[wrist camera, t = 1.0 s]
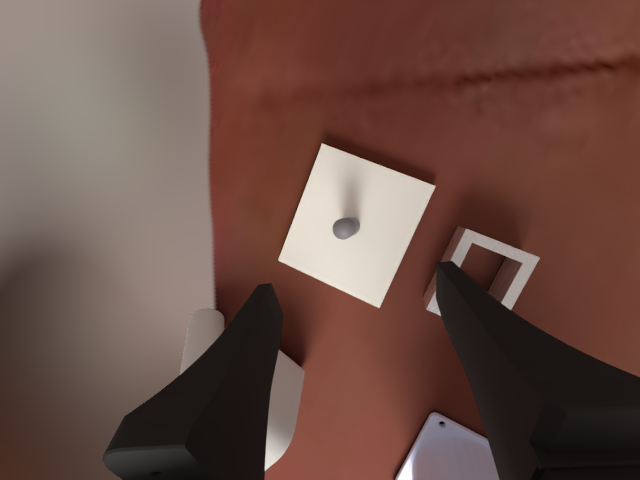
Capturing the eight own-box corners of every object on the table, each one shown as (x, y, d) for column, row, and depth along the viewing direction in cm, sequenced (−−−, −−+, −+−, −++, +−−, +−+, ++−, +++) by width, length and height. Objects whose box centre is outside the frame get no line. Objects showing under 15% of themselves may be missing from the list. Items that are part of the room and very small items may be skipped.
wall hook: (224, 279, 27) (158, 347, 18) (309, 350, 29) (292, 449, 19) (174, 335, 29) (90, 423, 20) (256, 399, 31) (215, 511, 21)
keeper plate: (434, 187, 23) (442, 182, 18) (380, 304, 25) (376, 324, 20) (325, 146, 24) (309, 132, 20) (282, 258, 26) (259, 268, 22)
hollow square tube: (457, 225, 23) (466, 228, 20) (521, 251, 22) (539, 257, 19) (422, 297, 24) (426, 309, 21) (482, 323, 23) (494, 340, 20)
